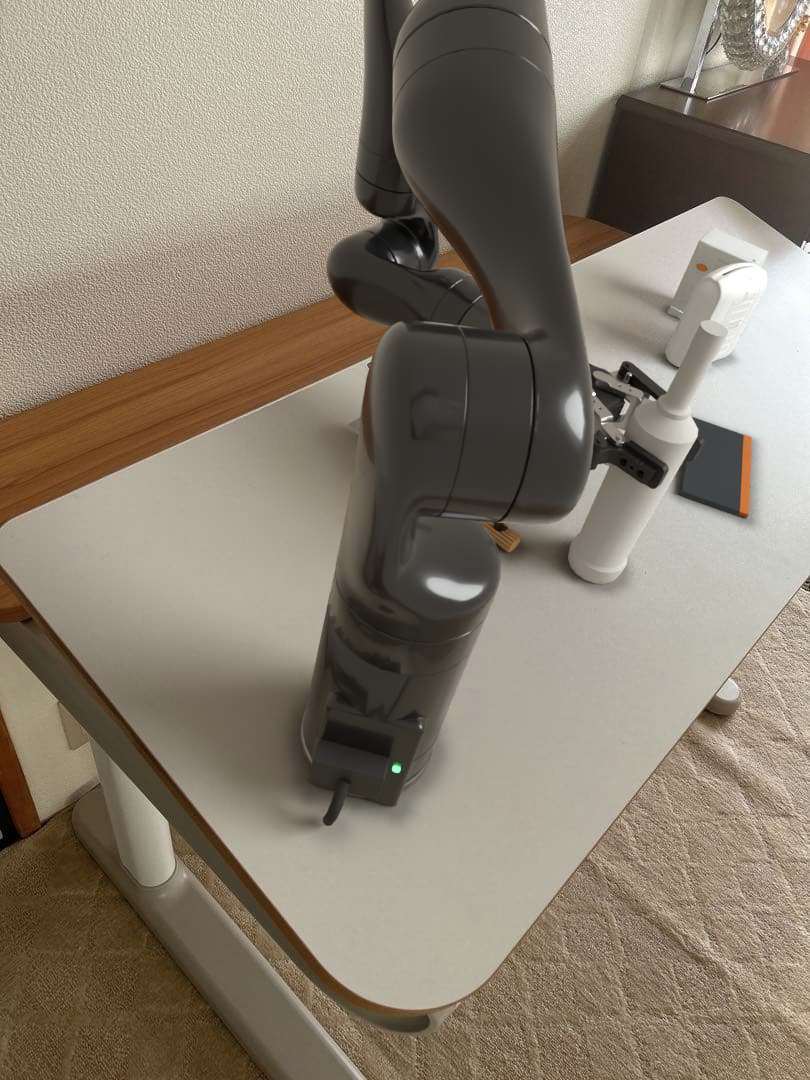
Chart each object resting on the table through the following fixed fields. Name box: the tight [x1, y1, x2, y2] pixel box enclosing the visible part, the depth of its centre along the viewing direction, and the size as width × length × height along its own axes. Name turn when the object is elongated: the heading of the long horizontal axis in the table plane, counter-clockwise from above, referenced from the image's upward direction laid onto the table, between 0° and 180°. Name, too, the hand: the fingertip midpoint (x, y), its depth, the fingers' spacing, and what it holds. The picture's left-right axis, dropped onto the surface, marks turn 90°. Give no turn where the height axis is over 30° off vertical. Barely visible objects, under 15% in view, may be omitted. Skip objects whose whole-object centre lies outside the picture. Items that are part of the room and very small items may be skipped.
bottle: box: [567, 320, 728, 585], centre depth 71 cm, size 5×5×25 cm
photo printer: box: [664, 262, 768, 368], centre depth 106 cm, size 10×4×12 cm, turn 126°
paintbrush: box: [348, 417, 522, 553], centre depth 82 cm, size 4×3×20 cm
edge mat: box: [679, 416, 753, 519], centre depth 94 cm, size 14×7×1 cm, turn 162°
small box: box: [667, 227, 769, 320], centre depth 114 cm, size 8×6×10 cm
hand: (680, 464), depth 69 cm, fingers closed on bottle, 5 cm apart
